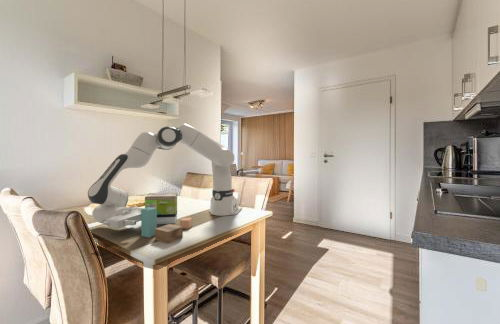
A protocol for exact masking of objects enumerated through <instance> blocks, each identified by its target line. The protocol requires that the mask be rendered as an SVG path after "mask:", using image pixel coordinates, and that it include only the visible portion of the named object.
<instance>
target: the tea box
mask: <svg viewBox="0 0 500 324" xmlns="http://www.w3.org/2000/svg"><path fill="white" fill-rule="evenodd" d="M147 207H152V208H157V225H168V224H173V225H176V222H177V219H178V192H155V193H154V192H153V193H152V192H151V193H148V194H147V195H146V196H144V208H147Z"/></svg>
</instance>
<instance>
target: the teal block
mask: <svg viewBox="0 0 500 324" xmlns="http://www.w3.org/2000/svg"><path fill="white" fill-rule="evenodd" d="M140 222H141V223H140V225H141V226H140V229H141V237H143V238H144V237H145V238H152V237H155V229H156V228H158V224H157V208H152V207H147V208H145V207H144V209H141V221H140Z"/></svg>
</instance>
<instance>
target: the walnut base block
mask: <svg viewBox="0 0 500 324" xmlns="http://www.w3.org/2000/svg"><path fill="white" fill-rule="evenodd" d="M183 229H184V228H183V227H182V226H180V225H177V224H164V225H162V226H159V227H157V228H156V229H155V235H154V240H155V241H156V242H157V241H158V242H161V243H165V244H171V243H173V242H176V241H178V240H181V239H182V238H184V237H183V235H184V234H183V233H184V232H183V231H184V230H183Z"/></svg>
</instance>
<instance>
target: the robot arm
mask: <svg viewBox="0 0 500 324" xmlns="http://www.w3.org/2000/svg"><path fill="white" fill-rule="evenodd" d="M178 143H181V144H184V145H185V146H187V147H188V148H190V149H191V150H193V151H195V153H198V154H199V155H201V156H203V157H204V158H206V159H208V160H209V161H211V168H212V169H211V171H212V188H213V189H212V191H211V192H212V197H211V198H210V206H209V209H208V213H210V214H211V215H214V216H218V217H219V216H220V217H222V216H231V215H232V216H235V215H237V214H239V212H241V210H242V208H243V207H241V206H239V201H238V199H237V198H236V197H235V196H234V193H235V191H236V190H235V188H232V187H233V185H232V183H233V182H232V180H233V179H232V176H233V175H232V173H231V167H230V166H231V165H232V164H234V162H235V154H234V153H233V151H232V150H231V149H229V148H227V147H226V146H225V145H223V144H221V143H220V142H218V141H216V140H214V139H213V138H211V137H210V136H208V135H207V134H204V133H203V132H202V131H200V130H199V129H197V128H196V127H193V126H191V125H190V124H187V123H182V124H180V125H178V126H163V127H161V128H160V129H159V130H158V132H157V133H152V132H149V131H143V132H140V134H139V135H138V136H137V137H136V139H135V140H134V141H133V143H132V145H131V146H130V147H129V149H128V150H127V151H125V153H121V154H119V155H118V156H117V157H116V158H115V159H114V160H113V161H112V162H111V163H110V165H109V166H108V167H107V168H106V169H105V171H104V172H103V173H102V175H101V176H100V177H99V178H98V179H97V180H96V181H95V182H94V183H93V184H92V185H91V186H90V187H89V188H88V191H87V197H88V199H89V201H90V202H91V203H92V204H95V205H97V206H96V207H95V208H93V210H92V212H91V216H92V218H93V220H94V221H96V222H97V223H99V224H103V225H104V226H105V225H106V226H107V227H108V228H109V229H114V230H116V229H117V230H118V229H121V228H124V227H127V226H136V225H137V223H138V222H139V223H140V222H141V209H144V208H145V207H144V208H142V207H138V206H129V207H127V205H128V201H129V194H128V192H127V190H125V189H123V188H120V187H116V186H113V185H111V184H112V183H113V182H114V181H115V179H116V178H117V177H118V176H119V175H120V173H121V172H122V171H124V170H126V169H140V168H143V167H146V166H147V165H148V163H149V162H150V161H151V158H152V156H153V155H154V153H155V151H156V150H157V149H160V150H164V151H165V150H166V151H167V150H172V149H173V148H174V147H176V146H177V144H178Z"/></svg>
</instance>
